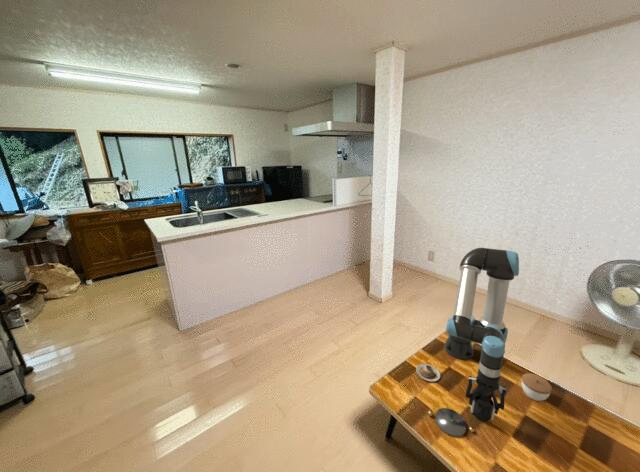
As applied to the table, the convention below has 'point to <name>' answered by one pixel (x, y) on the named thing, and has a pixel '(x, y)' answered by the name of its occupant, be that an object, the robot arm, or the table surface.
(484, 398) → the supplement bottle
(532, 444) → the table surface
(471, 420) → the table surface
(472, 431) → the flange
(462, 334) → the robot arm
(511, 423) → the table surface
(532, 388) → the lidded jar
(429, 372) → the grey ring with stone
